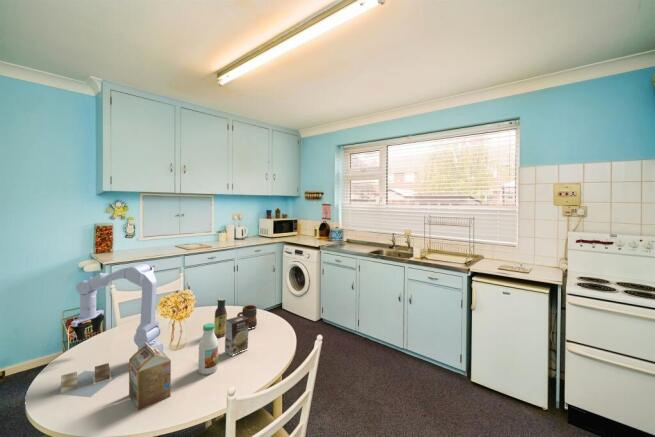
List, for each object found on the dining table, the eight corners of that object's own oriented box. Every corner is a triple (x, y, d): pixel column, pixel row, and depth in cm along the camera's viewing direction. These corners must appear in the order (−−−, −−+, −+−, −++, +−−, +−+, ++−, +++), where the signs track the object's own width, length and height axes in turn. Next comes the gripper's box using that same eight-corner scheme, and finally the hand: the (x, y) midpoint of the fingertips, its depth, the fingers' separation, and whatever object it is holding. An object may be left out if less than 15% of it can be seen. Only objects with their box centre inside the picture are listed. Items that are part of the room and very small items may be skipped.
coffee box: (231, 357, 138) (232, 323, 137) (224, 352, 142) (225, 319, 141) (248, 349, 145) (249, 318, 144) (240, 345, 149) (241, 314, 148)
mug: (233, 328, 168) (233, 308, 167) (251, 322, 176) (252, 303, 176) (240, 333, 162) (240, 312, 161) (259, 327, 170) (260, 307, 170)
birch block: (77, 382, 114) (77, 371, 114) (77, 388, 110) (77, 377, 110) (61, 387, 111) (61, 375, 111) (61, 393, 108) (60, 381, 107)
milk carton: (170, 396, 109) (170, 347, 108) (137, 410, 101) (138, 357, 100) (160, 383, 116) (160, 337, 115) (129, 396, 108) (129, 346, 107)
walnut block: (108, 373, 120) (108, 362, 120) (109, 378, 117) (109, 367, 117) (94, 377, 117) (94, 366, 117) (95, 383, 114) (95, 371, 114)
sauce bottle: (218, 338, 155) (219, 302, 153) (211, 335, 158) (211, 299, 157) (228, 334, 160) (229, 298, 159) (221, 331, 163) (222, 296, 162)
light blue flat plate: (121, 374, 121) (121, 373, 121) (90, 398, 106) (90, 396, 106) (85, 371, 122) (85, 370, 122) (49, 394, 107) (49, 393, 107)
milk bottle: (197, 376, 122) (197, 329, 121) (199, 366, 129) (200, 321, 128) (216, 374, 124) (217, 328, 123) (218, 364, 131) (219, 320, 130)
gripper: (93, 300, 139) (94, 328, 139) (64, 311, 124) (64, 342, 125) (107, 301, 138) (108, 329, 139) (79, 312, 124) (80, 343, 124)
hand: (88, 335), depth 132 cm, fingers open, 7 cm apart
